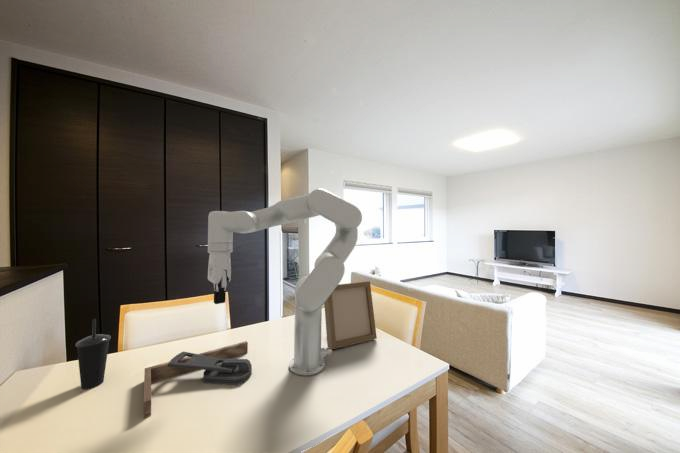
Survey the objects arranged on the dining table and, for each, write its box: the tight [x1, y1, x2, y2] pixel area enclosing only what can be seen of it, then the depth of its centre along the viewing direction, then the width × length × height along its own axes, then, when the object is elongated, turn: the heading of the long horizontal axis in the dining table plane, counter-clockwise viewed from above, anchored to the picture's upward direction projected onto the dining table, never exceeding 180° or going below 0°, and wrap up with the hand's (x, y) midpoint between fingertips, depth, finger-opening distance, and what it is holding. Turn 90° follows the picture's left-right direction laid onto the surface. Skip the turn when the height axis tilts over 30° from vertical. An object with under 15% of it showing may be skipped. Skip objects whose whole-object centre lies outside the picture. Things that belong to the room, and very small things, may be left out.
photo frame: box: [323, 280, 378, 350], centre depth 109 cm, size 15×22×25 cm
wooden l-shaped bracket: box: [143, 341, 249, 419], centre depth 79 cm, size 32×19×4 cm, turn 128°
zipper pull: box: [168, 351, 253, 386], centre depth 80 cm, size 9×7×25 cm
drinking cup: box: [75, 318, 112, 390], centre depth 75 cm, size 8×8×20 cm
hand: (219, 302), depth 82 cm, fingers closed
